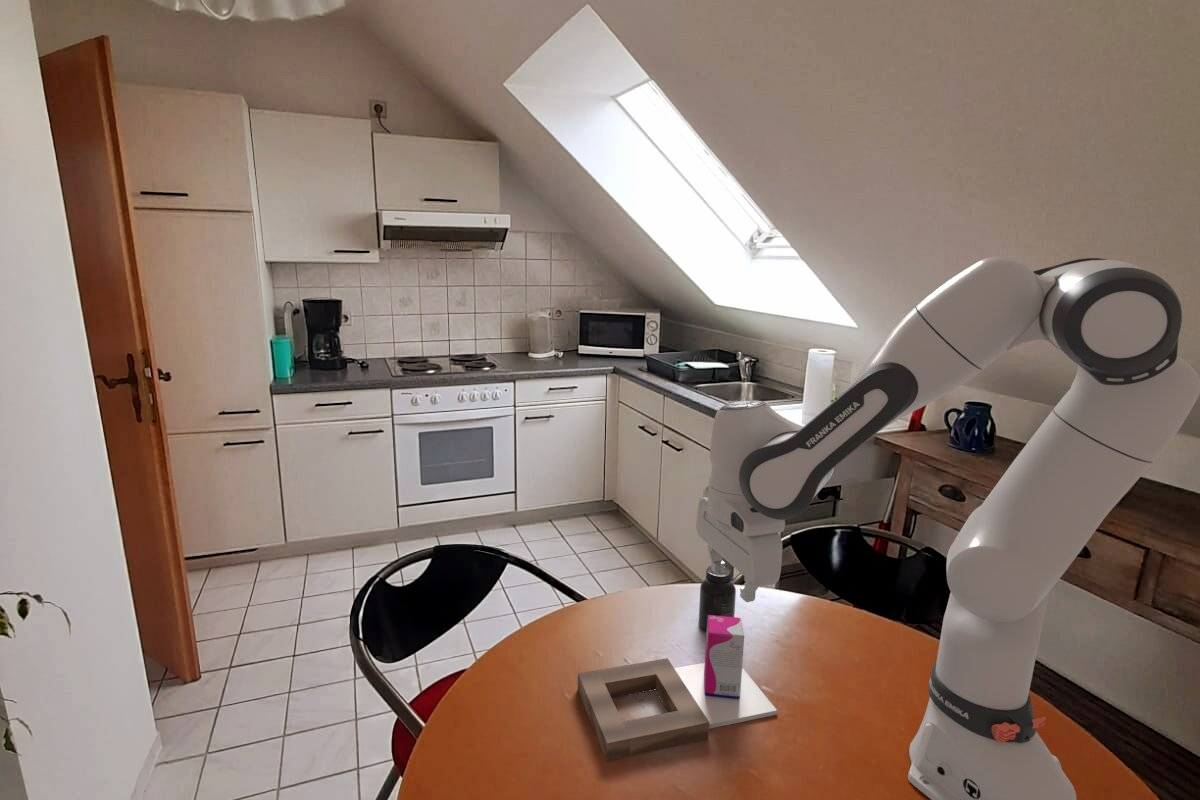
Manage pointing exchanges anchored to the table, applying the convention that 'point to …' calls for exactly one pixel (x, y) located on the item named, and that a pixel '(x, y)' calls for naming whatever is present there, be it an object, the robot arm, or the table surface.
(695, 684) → the white rectangular plate
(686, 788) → the table surface
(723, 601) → the supplement bottle
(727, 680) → the supplement box
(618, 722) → the walnut holder
